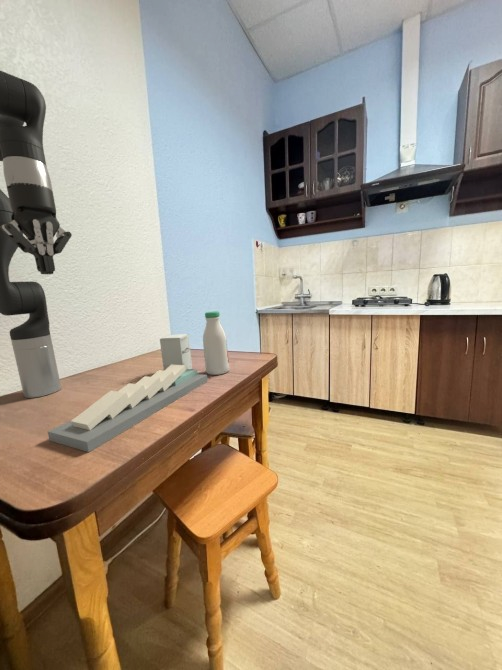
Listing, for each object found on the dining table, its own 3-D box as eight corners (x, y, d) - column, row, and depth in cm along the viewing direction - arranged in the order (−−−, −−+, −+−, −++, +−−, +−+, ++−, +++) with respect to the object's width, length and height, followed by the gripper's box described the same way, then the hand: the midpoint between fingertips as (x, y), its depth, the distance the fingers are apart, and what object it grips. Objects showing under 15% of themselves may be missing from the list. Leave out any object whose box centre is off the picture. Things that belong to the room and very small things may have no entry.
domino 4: (147, 394, 67) (172, 371, 75) (132, 392, 69) (158, 370, 77) (149, 399, 67) (174, 375, 75) (134, 397, 69) (160, 374, 77)
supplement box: (184, 375, 91) (179, 337, 89) (163, 375, 93) (158, 338, 91) (193, 368, 99) (189, 333, 96) (173, 368, 100) (169, 334, 98)
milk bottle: (228, 374, 88) (222, 312, 85) (204, 376, 89) (197, 314, 85) (230, 367, 96) (225, 310, 93) (208, 369, 96) (202, 311, 93)
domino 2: (109, 413, 58) (143, 385, 66) (93, 410, 60) (128, 383, 68) (112, 418, 58) (145, 389, 66) (96, 415, 60) (130, 388, 68)
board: (49, 440, 55) (47, 431, 55) (176, 378, 89) (175, 372, 88) (88, 452, 50) (87, 442, 50) (207, 381, 84) (207, 374, 83)
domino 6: (175, 380, 76) (196, 369, 84) (161, 379, 78) (183, 368, 87) (175, 385, 76) (197, 374, 85) (161, 384, 78) (184, 373, 87)
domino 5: (162, 387, 71) (184, 365, 79) (148, 385, 73) (171, 364, 81) (164, 391, 72) (186, 369, 80) (150, 389, 74) (172, 368, 82)
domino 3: (130, 403, 62) (159, 377, 70) (114, 400, 64) (144, 376, 72) (132, 408, 63) (161, 382, 71) (117, 405, 65) (146, 380, 73)
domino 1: (87, 424, 53) (126, 392, 61) (70, 421, 55) (110, 390, 63) (90, 430, 54) (128, 397, 62) (74, 426, 56) (113, 395, 64)
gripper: (53, 199, 64) (67, 275, 67) (-21, 182, 53) (0, 275, 56) (73, 192, 61) (87, 272, 64) (0, 172, 49) (21, 272, 52)
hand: (47, 274), depth 60 cm, fingers closed
